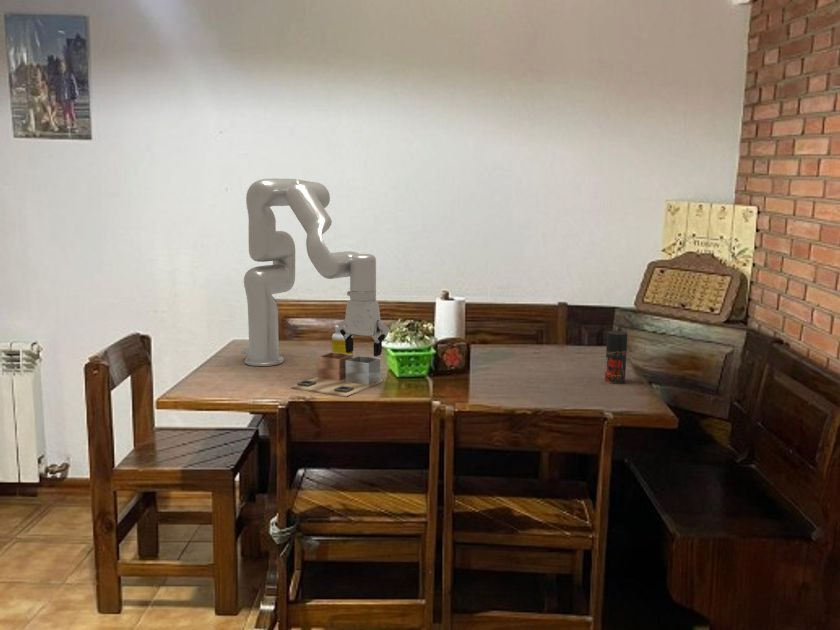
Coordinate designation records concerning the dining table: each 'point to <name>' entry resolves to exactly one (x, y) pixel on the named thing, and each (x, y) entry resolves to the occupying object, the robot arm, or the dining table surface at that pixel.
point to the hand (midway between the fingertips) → (363, 353)
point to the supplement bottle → (339, 342)
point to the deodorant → (616, 357)
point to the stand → (343, 374)
